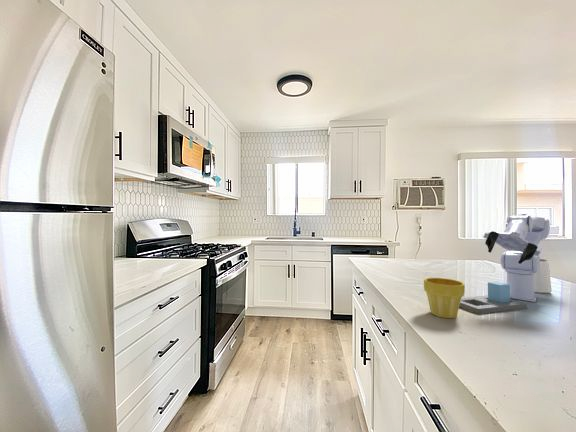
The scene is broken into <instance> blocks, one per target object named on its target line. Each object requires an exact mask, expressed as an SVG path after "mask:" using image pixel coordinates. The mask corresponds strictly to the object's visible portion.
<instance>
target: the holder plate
mask: <svg viewBox="0 0 576 432" xmlns="http://www.w3.org/2000/svg"><path fill="white" fill-rule="evenodd" d="M474 304H475V305H474ZM480 305H481V306H480ZM461 307H462V309H464V308H465V309H464V310H466V309H467V310H466V311H469V310H470V311H469V312H472V313H474V312H475V313H474V314H477V315H481V313H483V314H490V313H489V312H492V313H499V312H498V311H500V312H508V311H509V312H510V311H515V310H524V309H525V310H526V309H528V303H526V302H522V301H518V300H517V299H513V298H510V302H509V303H498V302H495V301H491V300H488V294H486V295H477V296H467V297H461V301H460V305H459V308H461Z"/></svg>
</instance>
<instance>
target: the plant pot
mask: <svg viewBox="0 0 576 432" xmlns="http://www.w3.org/2000/svg"><path fill="white" fill-rule="evenodd" d="M423 289H424V291H425V292H426V297H427V301H428V305H429V309H430V310H429V311H430V313H431V314H432V315H434V316H435V317H439V318H445V319H455V318H457V317H458V313H459V309H460V307H459V305H460V301H461V298H463V297H464V296H465V291H466V290H465V289H466V288H465V283H464V282H462V281H460V280H457V279H451V278H444V277H426V278H424V279H423Z"/></svg>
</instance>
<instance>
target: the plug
mask: <svg viewBox="0 0 576 432" xmlns="http://www.w3.org/2000/svg"><path fill="white" fill-rule="evenodd" d="M487 295H488V300H491V301H495V302H498V303H509V302H510V299H511V298H510V284H507V282H506V283H505V282H500V281H488V282H487Z"/></svg>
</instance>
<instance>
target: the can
mask: <svg viewBox="0 0 576 432" xmlns="http://www.w3.org/2000/svg"><path fill="white" fill-rule="evenodd" d="M534 293H537V294H551V293H552V281H551V272H550V265H549V262H548V260H547V259H542V258H541V259H540V269H539V272H537V273H535V274H534Z"/></svg>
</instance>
